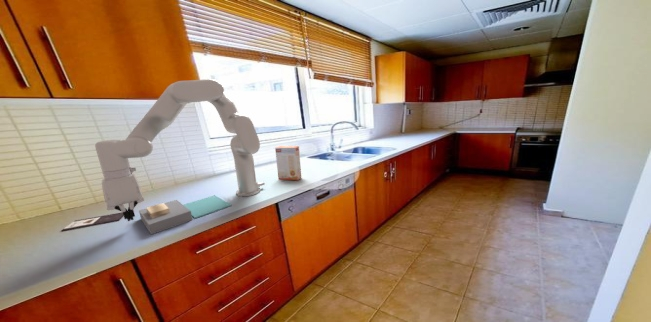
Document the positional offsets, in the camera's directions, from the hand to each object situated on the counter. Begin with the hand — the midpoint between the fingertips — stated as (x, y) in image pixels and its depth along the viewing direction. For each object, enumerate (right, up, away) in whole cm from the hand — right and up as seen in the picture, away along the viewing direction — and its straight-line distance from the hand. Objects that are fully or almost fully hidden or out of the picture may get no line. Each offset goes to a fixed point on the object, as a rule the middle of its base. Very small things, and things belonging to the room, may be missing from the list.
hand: (130, 219), depth 85 cm
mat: (+18, +1, +20) cm, 27 cm away
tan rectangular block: (+6, +1, +6) cm, 9 cm away
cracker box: (+52, +11, +57) cm, 78 cm away
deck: (+8, -2, +9) cm, 12 cm away
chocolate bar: (-24, -4, +11) cm, 26 cm away
